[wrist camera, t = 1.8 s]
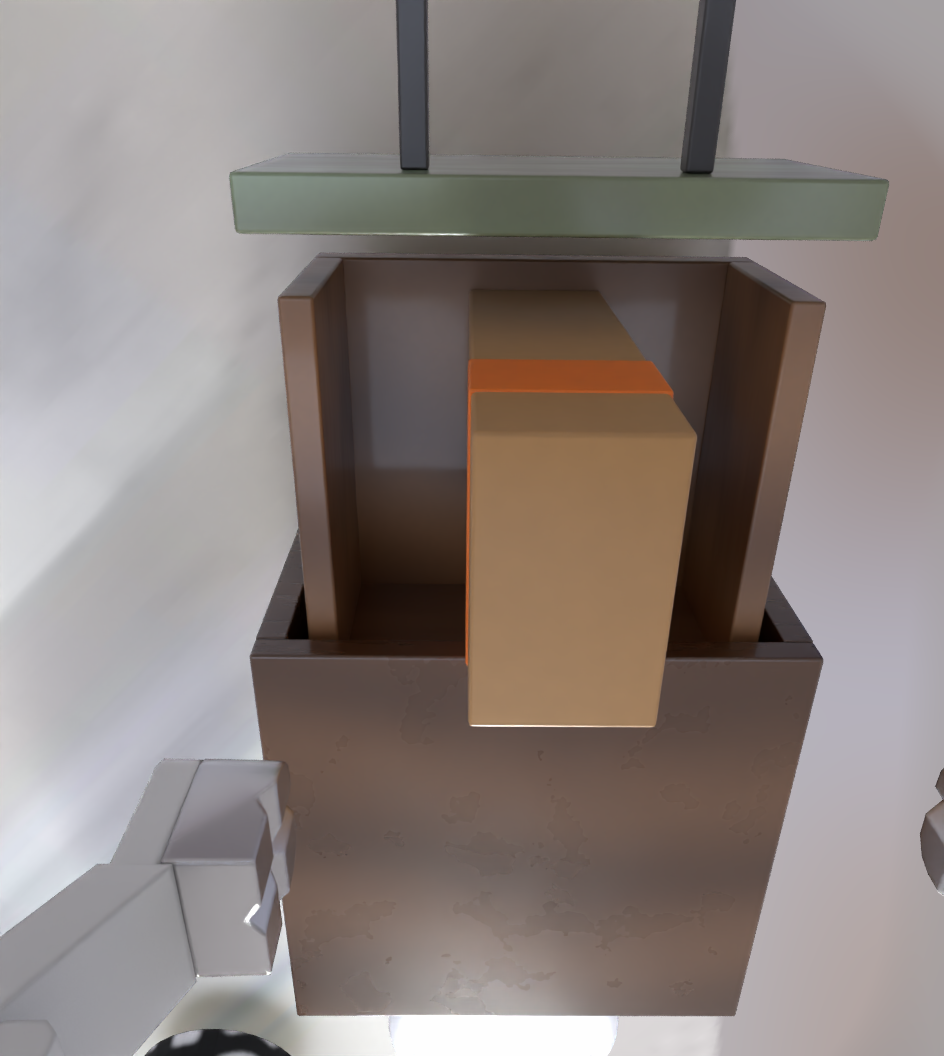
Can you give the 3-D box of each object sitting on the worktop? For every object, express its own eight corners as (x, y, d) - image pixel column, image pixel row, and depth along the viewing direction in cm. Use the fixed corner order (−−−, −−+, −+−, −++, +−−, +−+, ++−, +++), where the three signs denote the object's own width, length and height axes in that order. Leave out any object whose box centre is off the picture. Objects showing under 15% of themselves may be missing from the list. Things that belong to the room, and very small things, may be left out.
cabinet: (303, 513, 28) (248, 655, 21) (734, 516, 29) (825, 659, 21) (331, 827, 35) (296, 1017, 28) (680, 828, 35) (735, 1017, 28)
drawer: (267, -91, 20) (189, -163, 14) (827, -83, 20) (965, -151, 15) (322, 586, 29) (286, 705, 23) (714, 588, 29) (774, 707, 23)
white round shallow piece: (628, 1007, 41) (642, 1083, 38) (432, 1047, 42) (430, 1123, 39) (579, 868, 36) (590, 941, 33) (362, 917, 38) (353, 991, 34)
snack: (467, 286, 23) (468, 428, 13) (602, 288, 23) (703, 430, 13) (465, 489, 26) (465, 730, 16) (585, 490, 26) (658, 731, 16)
